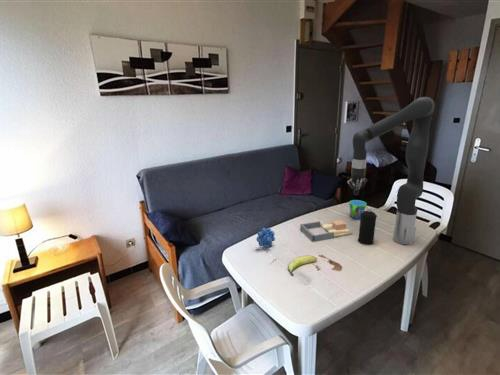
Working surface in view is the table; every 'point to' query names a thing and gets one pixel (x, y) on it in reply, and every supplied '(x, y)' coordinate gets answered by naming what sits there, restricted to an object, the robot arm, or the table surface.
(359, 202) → the snack cup
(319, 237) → the box
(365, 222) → the aerosol can
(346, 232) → the beige wooden board
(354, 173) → the robot arm
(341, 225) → the peach rectangular block
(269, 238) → the blue knobby ball
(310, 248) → the table surface
